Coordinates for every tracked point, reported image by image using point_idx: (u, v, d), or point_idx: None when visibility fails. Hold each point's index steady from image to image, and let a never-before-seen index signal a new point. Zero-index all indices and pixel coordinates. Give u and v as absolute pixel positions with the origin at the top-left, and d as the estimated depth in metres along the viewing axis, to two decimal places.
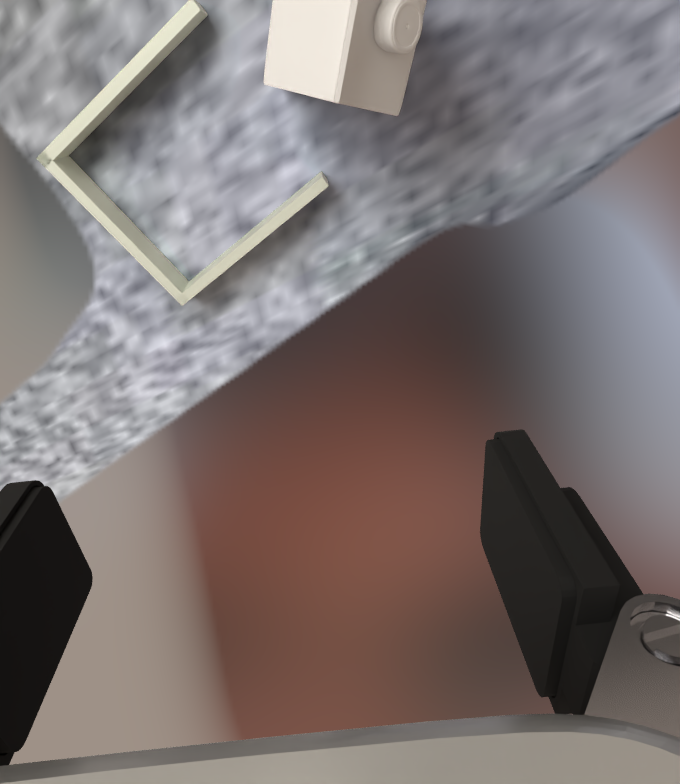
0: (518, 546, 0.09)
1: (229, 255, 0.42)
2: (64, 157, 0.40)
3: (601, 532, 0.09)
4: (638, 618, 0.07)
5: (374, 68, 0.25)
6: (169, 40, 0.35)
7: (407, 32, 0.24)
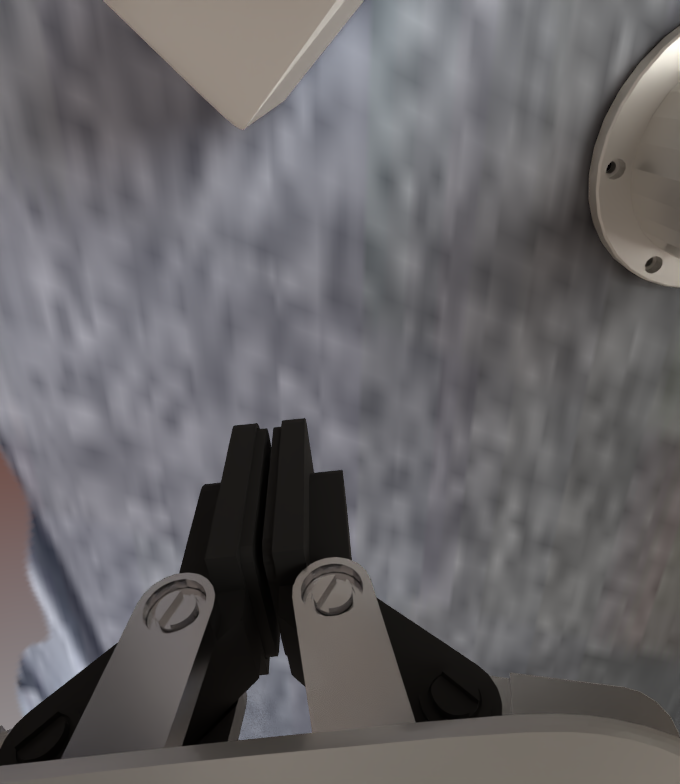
0: None
1: None
2: None
3: (343, 508, 0.10)
4: (316, 577, 0.08)
5: None
6: None
7: None
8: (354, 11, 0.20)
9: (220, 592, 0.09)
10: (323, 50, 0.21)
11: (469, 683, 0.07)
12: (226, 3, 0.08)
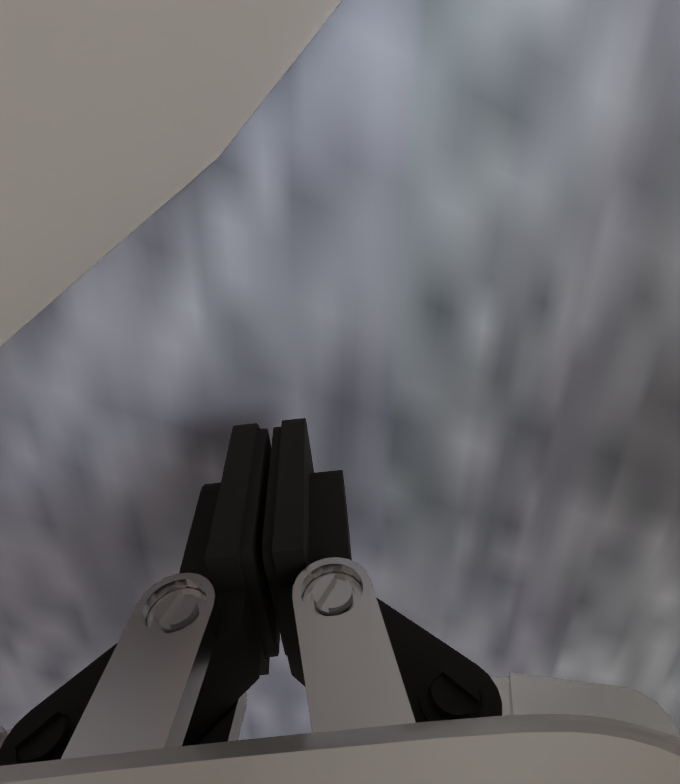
0: None
1: None
2: None
3: (343, 508, 0.10)
4: (316, 578, 0.08)
5: None
6: None
7: None
8: None
9: (220, 592, 0.09)
10: (306, 40, 0.08)
11: (469, 683, 0.07)
12: None
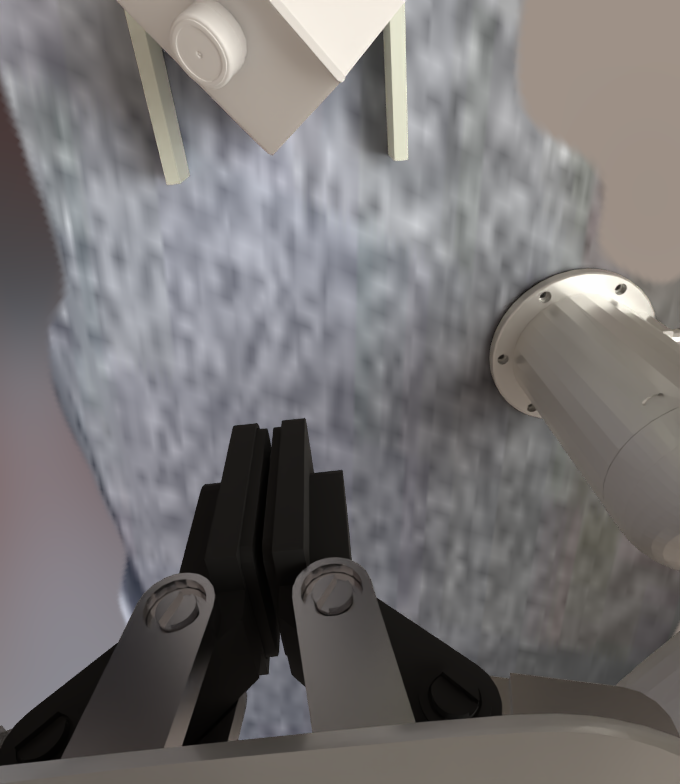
0: None
1: None
2: None
3: (343, 508, 0.10)
4: (316, 577, 0.08)
5: None
6: (393, 107, 0.30)
7: (192, 50, 0.16)
8: None
9: (220, 592, 0.09)
10: None
11: (469, 683, 0.07)
12: (269, 98, 0.18)
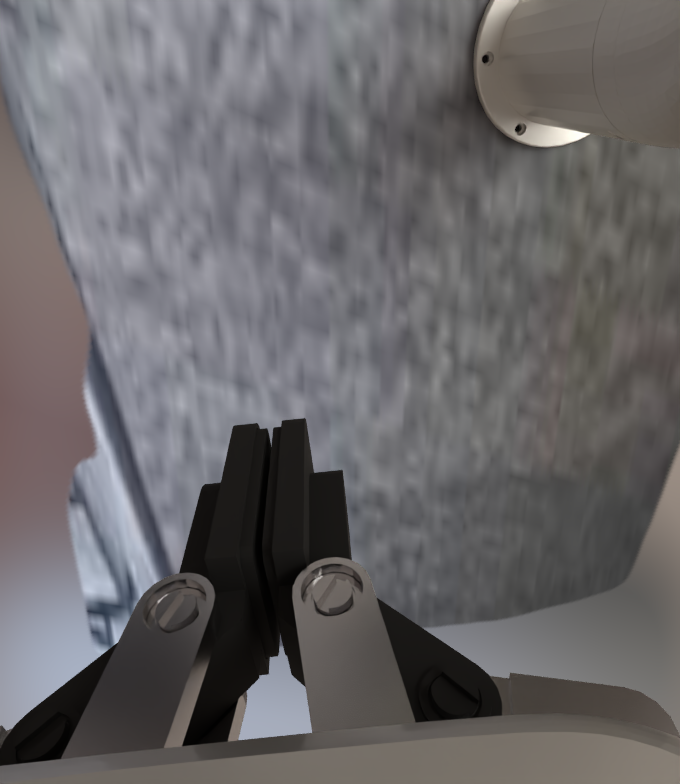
0: None
1: None
2: None
3: (343, 508, 0.10)
4: (316, 577, 0.08)
5: None
6: None
7: None
8: None
9: (220, 592, 0.09)
10: None
11: (469, 683, 0.07)
12: None
